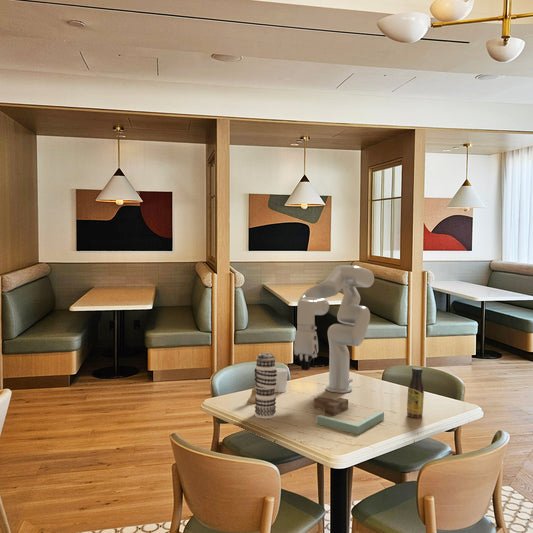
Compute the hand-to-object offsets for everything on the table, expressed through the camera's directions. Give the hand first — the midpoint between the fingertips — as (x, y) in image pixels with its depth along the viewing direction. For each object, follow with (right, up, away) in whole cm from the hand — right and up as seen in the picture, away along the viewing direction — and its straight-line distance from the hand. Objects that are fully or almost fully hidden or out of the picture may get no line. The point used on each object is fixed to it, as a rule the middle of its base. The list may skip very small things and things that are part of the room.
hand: (305, 369), depth 229 cm
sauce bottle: (+44, -16, -15) cm, 49 cm away
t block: (+9, -16, -7) cm, 19 cm away
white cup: (-11, -14, +21) cm, 27 cm away
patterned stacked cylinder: (-17, -16, -15) cm, 28 cm away
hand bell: (-21, -15, +5) cm, 26 cm away
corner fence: (+16, -16, -22) cm, 32 cm away
